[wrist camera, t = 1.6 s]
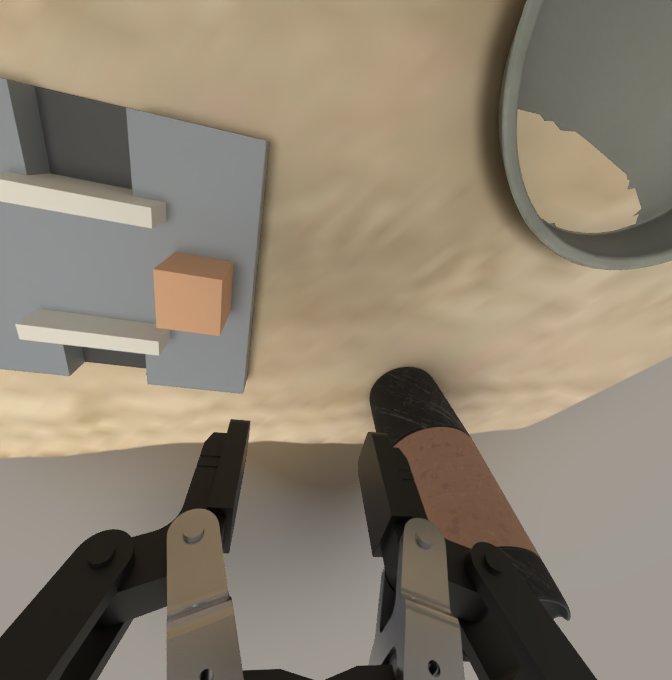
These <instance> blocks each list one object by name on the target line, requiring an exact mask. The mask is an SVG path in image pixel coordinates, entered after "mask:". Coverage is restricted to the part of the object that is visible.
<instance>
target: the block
mask: <svg viewBox="0 0 672 680" xmlns="http://www.w3.org/2000/svg"><path fill="white" fill-rule="evenodd" d="M233 265H234V262H232V261H227V260H221V259H215V258H209V257H203V256H197V255H191V254H185V253H179V252H174V253H173V254H172V255H170V256H169V257H168V258H167V259H165V260H164V261H163V262H162V263H160V264H159V265H158V266H157V267H155V268H154V269H153V275H154V293H155V310H156V328H162V329H169V330H177V331H185V332H192V333H200V334H208V335H215V336H220V334H221V332H222V330H223V328H224V325H225V323H226V321H227V319H228V316H229V314H230V312H231V299H232V282H233Z"/></svg>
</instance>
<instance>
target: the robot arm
mask: <svg viewBox="0 0 672 680" xmlns="http://www.w3.org/2000/svg"><path fill="white" fill-rule="evenodd" d="M249 430H250V421H245V420H234V419H231V420H230V424H229V428H228V431H227V433H217V432H214V433H213V434H212V435H211V436H210V437H209V438H208V439H207V440H206V441H205V442H204V446H203V448H202V451H201V455H200V457H199V460H198V463H197V467H196V469H195V473H194V476H193V478H192V481H191V484H190V487H189V490H188V493H187V496H186V499H185V502H184V505H183V508H182V510H181V512H180V513H179V515H178V516H177V517H176V518H175V519H174V520H173V521H172V522H171V523H169V524H168V525H167V526H165V527H163V528H161V529H159V530H156V531H153V532H150V533H146V534H142V535H139V536H135V537H131V536H130V535H129V534H128V533H126V532H124V531H121V530H114V529H112V530H106V531H102V532H100V533H97V534H95V535H93V536H92V537H90V538H88V539H87V540H85V541H84V542H83V543H82V544H81V545H80V546H79V547H78V548H77V549H76V550H75V551H74V553H73V554H72V555H71V556H70V557H69V558H68V559H67V561H66V562H65V563H64V564H63V566H61V568H60V569H59V570H58V571H57V572H56V574H55V575H54V576H53V577H52V578H51V579H50V580H49V582H48V583H47V584H46V585H45V586H44V588H42V590H41V591H40V592H39V593H38V594H37V596H36V597H35V598H34V599H33V600H32V601H31V603H30V604H29V605H28V606H27V607H26V608H25V609H24V611H23V612H22V613H21V614H20V615H19V616H18V618H17V619H16V620H15V621H14V622H13V623H12V625H11V626H10V627H9V628H8V629H7V630H6V631H5V633H4V634H3V635H2V636H1V637H0V680H97V679H98V677H99V675H100V674H101V672H102V670H103V669H104V667H105V665H106V664H107V662H108V660H109V659H110V657H111V655H112V654H113V652H114V650H115V649H116V647H117V645H118V644H119V642H120V640H121V639H122V637H123V635H124V633H125V632H126V630H127V629H128V627H129V625H130V624H131V622H132V620H133V619H134V618H136V617H139V616H142V615H144V614H147V613H150V612H152V611H155V610H158V609H160V608H163V607H166V606H167V680H312V679H309V678H306V677H303V676H300V675H297V674H294V673H291V672H288V671H284V670H281V669H271V670H248V671H247V670H246V671H242V664H241V657H240V650H239V643H238V636H237V629H236V622H235V615H234V609H233V603H232V599H231V597H230V596H229V592H228V586H227V579H226V572H225V564H224V557H223V553H229V551H230V545H231V540H232V534H233V529H234V523H235V517H236V512H237V507H238V501H239V496H240V490H241V484H242V479H243V474H244V468H245V462H246V456H247V448H248V439H249ZM358 475H359V481H360V486H361V492H362V498H363V503H364V509H365V515H366V521H367V526H368V532H369V538H370V543H371V549H372V555H373V557H383V561H384V566H385V567H384V569H383V572H382V575H381V584H380V594H379V604H378V614H377V623H376V634H375V639H374V644H373V647H372V651H371V655H370V660H369V665H368V666H356V667H354V668H351V669H349V670H347V671H345V672H342V673H340V674H337V675H335V676H333V677H330V678H328V679H326V680H465V678H464V667H463V655H462V648H463V649H464V651H465V653H466V655H467V657H468V659H469V661H470V663H471V665H472V667H473V669H474V671H475V673H476V674H477V677H478V679H479V680H597V679H596V678H595V676H594V675H593V673H592V672H591V671H590V669H589V668H588V667H587V665H586V664H585V662H584V661H583V660H582V658H581V657H580V656H579V654H578V653H577V651H576V650H575V649H574V648H573V646H572V645H571V643H570V642H569V641H568V639H567V638H566V636H565V635H564V634H563V632H562V631H561V630H560V628H559V627H558V625H557V624H556V623H555V621H554V620H553V619H552V617H551V616H550V615H549V613H548V612H547V610H546V609H545V608H544V606H543V605H542V604H541V602H540V601H539V599H538V598H537V597H536V595H535V594H534V593H533V591H532V590H531V588H530V587H529V586H528V584H527V583H526V582H525V580H524V579H523V578H522V576H521V575H520V573H519V572H518V571H517V569H516V568H515V567H514V565H513V564H512V562H511V561H510V560H509V558H508V557H507V556H506V555H505V554H504V553H503V552H502V551H501V550H500V549H499V548H497V547H496V546H494V545H492V544H490V543H487V542H478V543H476V544H474V545H473V547H472V548H468V547H466V546H463V545H460V544H458V543H455V542H452V541H450V540H448V539H446V538H444V537H443V535H442V533H441V532H440V530H439V529H438V528H437V527H436V526H435V525H434V524H433V523H431V522H430V521H429V520H428V518H427V515H426V512H425V509H424V506H423V503H422V500H421V497H420V494H419V492H418V489H417V486H416V483H415V482H414V477H413V474H412V472H411V468H410V465H409V462H408V459H407V458H406V456H405V455H404V454H403V452H402V451H401V450H400V449H399V448H396V447H392V446H391V443H390V439H389V436H388V434H386V433H376V432H368V434H367V436H366V439H365V442H364V445H363V448H362V451H361V454H360V456H359V461H358Z"/></svg>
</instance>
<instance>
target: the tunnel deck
mask: <svg viewBox="0 0 672 680" xmlns="http://www.w3.org/2000/svg"><path fill="white" fill-rule="evenodd" d="M268 152H269V141H265V140H261V139H257V138H253V137H248V136H244V135H240V134H236V133H231V132H227V131H223V130H219V129H214V128H210V127H206V126H202V125H198V124H193V123H189V122H185V121H181V120H176V119H172V118H168V117H164V116H159V115H155V114H151V113H147V112H142V111H138V110H134V109H130V108H125V107H120V106H116V105H112V104H108V103H103V102H99V101H95V100H91V99H86V98H82V97H78V96H74V95H69V94H65V93H61V92H57V91H52V90H48V89H44V88H40V87H36V86H31V85H27V84H23V83H19V82H15V81H11V80H7V79H3V78H0V369H5V370H14V371H24V372H34V373H44V374H54V375H63V376H70V375H71V374H72V373H73V372H74V371H76V370H77V369H78V368H79V367H80V366H81V365H82V364H83V363H84V362H93V363H102V364H111V365H120V366H129V367H139V368H146V369H147V382H148V384H151V385H161V386H171V387H181V388H191V389H200V390H210V391H220V392H230V393H240V394H243V392H244V388H245V384H246V380H247V373H248V362H249V352H250V341H251V331H252V320H253V310H254V299H255V289H256V278H257V268H258V257H259V247H260V236H261V226H262V215H263V205H264V194H265V184H266V173H267V163H268ZM174 252H179V253H185V254H191V255H197V256H203V257H209V258H215V259H221V260H227V261H232V262H234V265H233V282H232V299H231V312H230V314H229V316H228V319H227V321H226V323H225V325H224V328H223V330H222V332H221V334H220V336H215V335H208V334H200V333H192V332H185V331H177V330H169V329H162V328H156V310H155V293H154V275H153V269H154V268H155V267H157V266H158V265H159V264H160V263H162V262H163V261H164V260H165V259H167V258H168V257H169V256H170V255H172V254H173V253H174Z"/></svg>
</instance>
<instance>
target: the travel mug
mask: <svg viewBox="0 0 672 680" xmlns="http://www.w3.org/2000/svg"><path fill="white" fill-rule="evenodd" d="M370 405H371V410H372V415H373V420H374V424H375V429H376V433H386V434H388V436H389V439H390V443H391V446H392V447H396V448H399V449H400V450H401V451H402V452H403V454H404V455H405V456H406V458H407V459H408V462H409V465H410V468H411V472H412V474H413V477H414V482H415V483H416V486H417V489H418V492H419V494H420V497H421V500H422V503H423V506H424V509H425V512H426V515H427V518H428V520H429V521H430V522H431V523H433V524H434V525H435V526H436V527H437V528H438V529H439V530H440V532H441V533H442V535H443V537H444V538H446V539H448V540H450V541H452V542H455V543H458V544H460V545H463V546H466V547H468V548H472V547H473V545H474V544H476V543H478V542H487V543H490V544H492V545H494V546H496V547H497V548H499V549H500V550H501V551H502V552H503V553H504V554H505V555H506V556H507V557H508V558H509V560H510V561H511V562H512V564H513V565H514V567H515V568H516V569H517V571H518V572H519V573H520V575H521V576H522V578H523V579H524V580H525V582H526V583H527V584H528V586H529V587H530V588H531V590H532V591H533V593H534V594H535V595H536V597H537V598H538V599H539V601H540V602H541V604H542V605H543V606H544V608H545V609H546V610H547V612H548V613H549V615H550V616H551V617H552V619H554V618H556V617H563V618H564V619H566V620H567V621H568V620H570V610H569V607H568V605H567V603H566V601H565V600H564V598H563V596H562V594H561V592H560V591H559V589H558V587H557V586H556V584H555V582H554V580H553V579H552V577H551V575H550V573H549V572H548V570H547V568H546V567H545V565H544V563H543V562H542V560H541V558H540V556H539V555H538V553H537V551H536V549H535V547H534V546H533V544H532V542H531V541H530V539H529V537H528V535H527V534H526V532H525V531H524V528H523V527H522V525H521V523H520V521H519V520H518V518H517V516H516V515H515V513H514V511H513V509H512V508H511V506H510V504H509V502H508V501H507V499H506V497H505V495H504V494H503V492H502V490H501V489H500V487H499V485H498V483H497V482H496V480H495V478H494V476H493V475H492V473H491V471H490V470H489V468H488V466H487V464H486V463H485V461H484V459H483V457H482V456H481V454H480V452H479V450H478V449H477V447H476V446H475V443H474V442H473V440H472V439H471V437H470V436H469V434H468V432H467V431H466V429H465V428H464V426H463V425H462V423H461V421H460V420H459V418H458V417H457V415H456V414H455V412H454V411H453V409H452V407H451V406H450V404H449V403H448V401H447V400H446V398H445V396H444V395H443V393H442V392H441V390H440V389H439V387H438V386H437V384H436V383H435V381H434V380H433V378H432V377H431V376H430V375H429V374H428V373H426V372H425V371H423V370H420V369H417V368H412V367H404V368H398V369H395V370H392V371H390V372H388V373H386V374H384V375H383V376H382V377H381V378H379V379H378V380H377V382H376V383H375V384H374V386H373V388H372V390H371V393H370ZM462 655H463V661H466V662H470V661H469V659H468V657H467V655H466V653H465V651H464V649H463V648H462Z"/></svg>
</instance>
